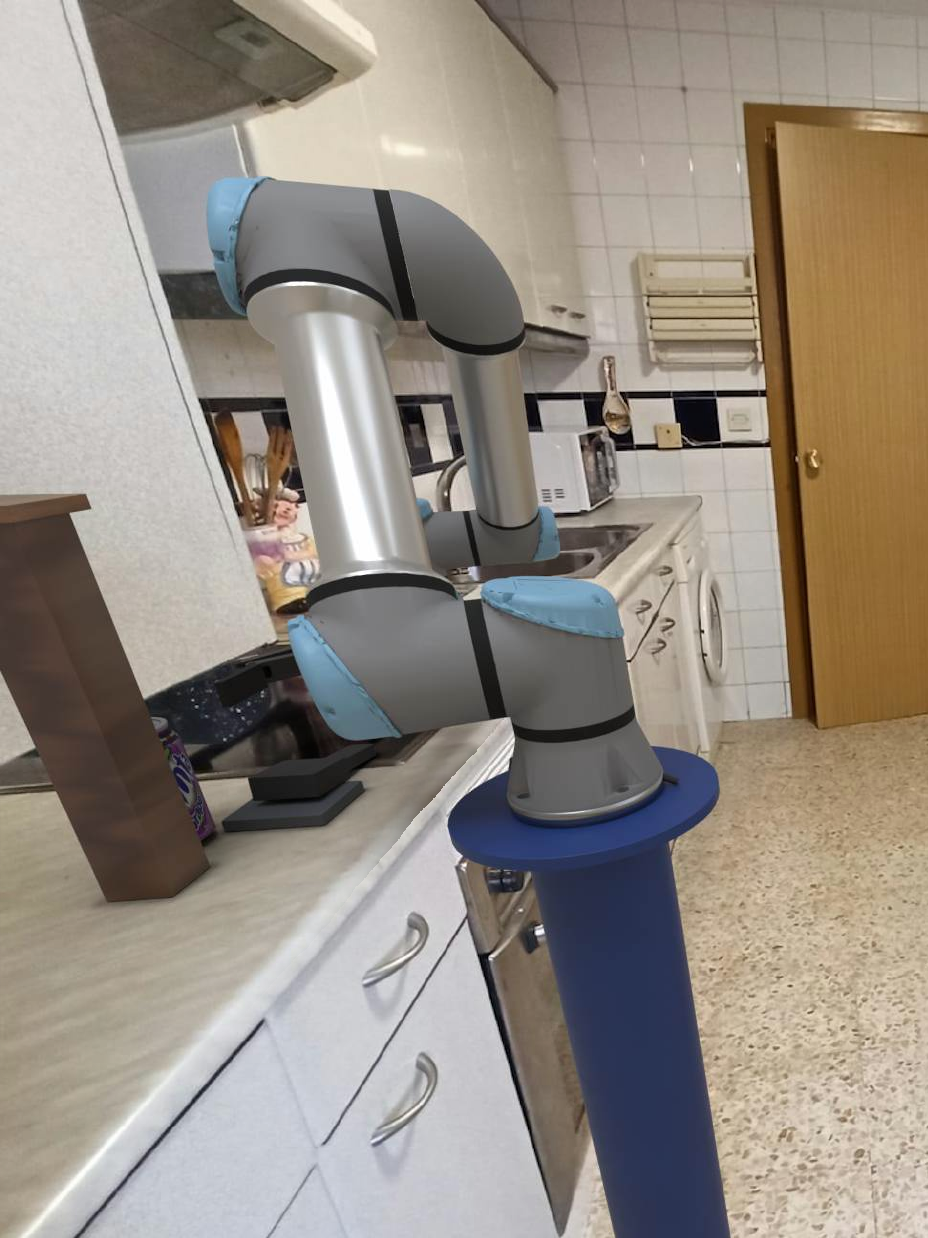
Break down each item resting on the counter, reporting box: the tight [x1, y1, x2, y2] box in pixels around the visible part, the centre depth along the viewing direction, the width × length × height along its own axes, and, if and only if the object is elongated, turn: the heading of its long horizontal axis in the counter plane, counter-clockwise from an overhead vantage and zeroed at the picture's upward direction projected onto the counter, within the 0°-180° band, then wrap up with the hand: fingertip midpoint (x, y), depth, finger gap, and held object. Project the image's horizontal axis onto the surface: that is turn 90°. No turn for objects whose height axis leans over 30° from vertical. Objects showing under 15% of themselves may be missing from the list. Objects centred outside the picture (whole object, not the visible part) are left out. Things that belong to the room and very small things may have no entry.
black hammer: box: [247, 743, 377, 801], centre depth 93 cm, size 6×15×2 cm, turn 9°
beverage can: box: [151, 716, 216, 842], centre depth 79 cm, size 7×7×12 cm
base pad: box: [220, 780, 365, 833], centre depth 88 cm, size 9×8×1 cm
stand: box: [0, 493, 212, 903], centre depth 69 cm, size 6×7×33 cm
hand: (294, 691), depth 89 cm, fingers open, 13 cm apart
